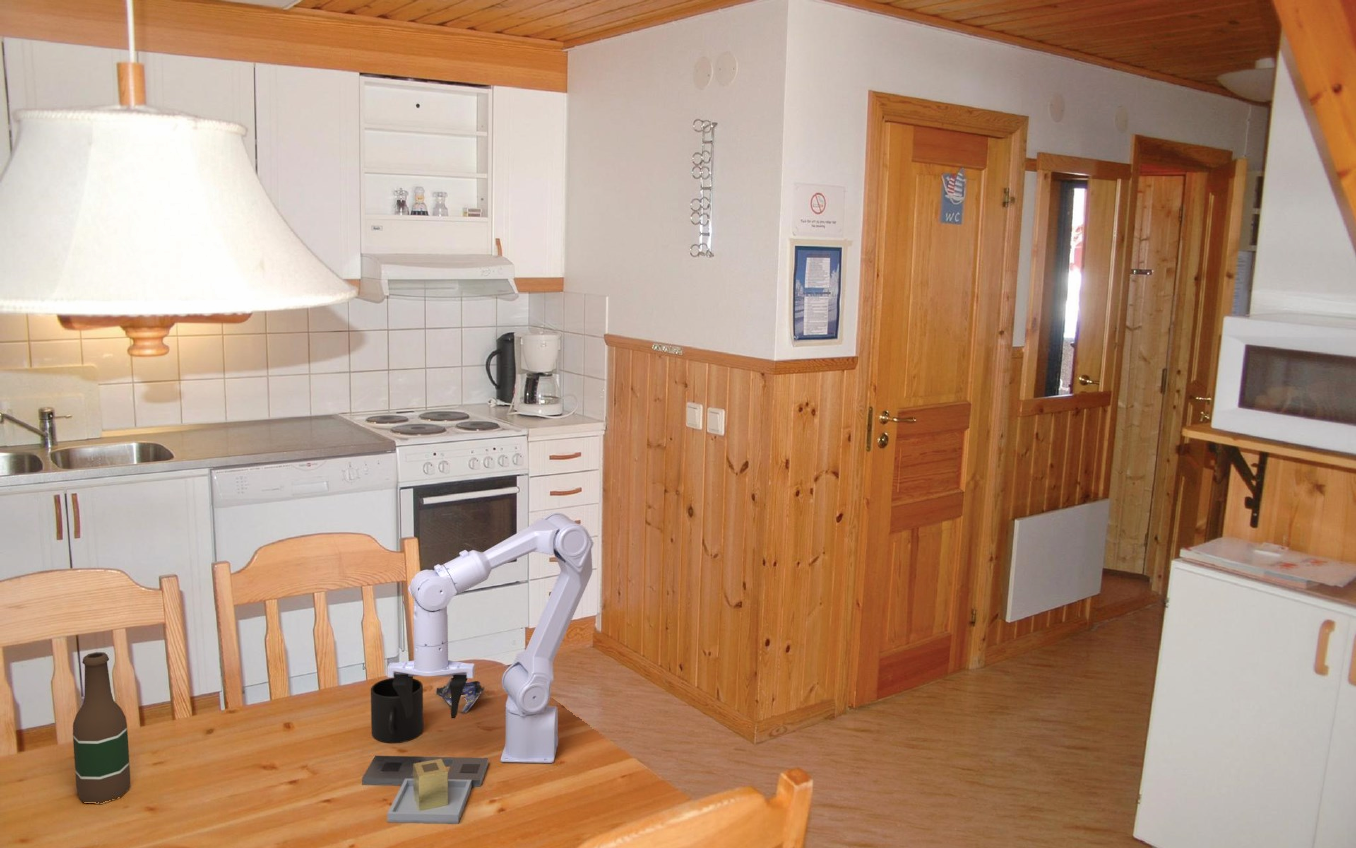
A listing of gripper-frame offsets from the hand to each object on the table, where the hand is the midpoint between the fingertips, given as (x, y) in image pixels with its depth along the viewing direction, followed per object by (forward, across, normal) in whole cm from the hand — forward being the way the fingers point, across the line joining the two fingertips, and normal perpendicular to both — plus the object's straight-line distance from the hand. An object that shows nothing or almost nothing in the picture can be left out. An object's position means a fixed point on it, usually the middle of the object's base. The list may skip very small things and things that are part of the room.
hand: (431, 715), depth 177 cm
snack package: (+11, 0, -30) cm, 32 cm away
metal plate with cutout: (+10, +1, +1) cm, 10 cm away
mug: (+11, +10, -14) cm, 20 cm away
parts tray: (+10, -2, +11) cm, 15 cm away
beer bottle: (+10, +52, +8) cm, 54 cm away
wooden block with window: (+10, -2, +11) cm, 15 cm away
